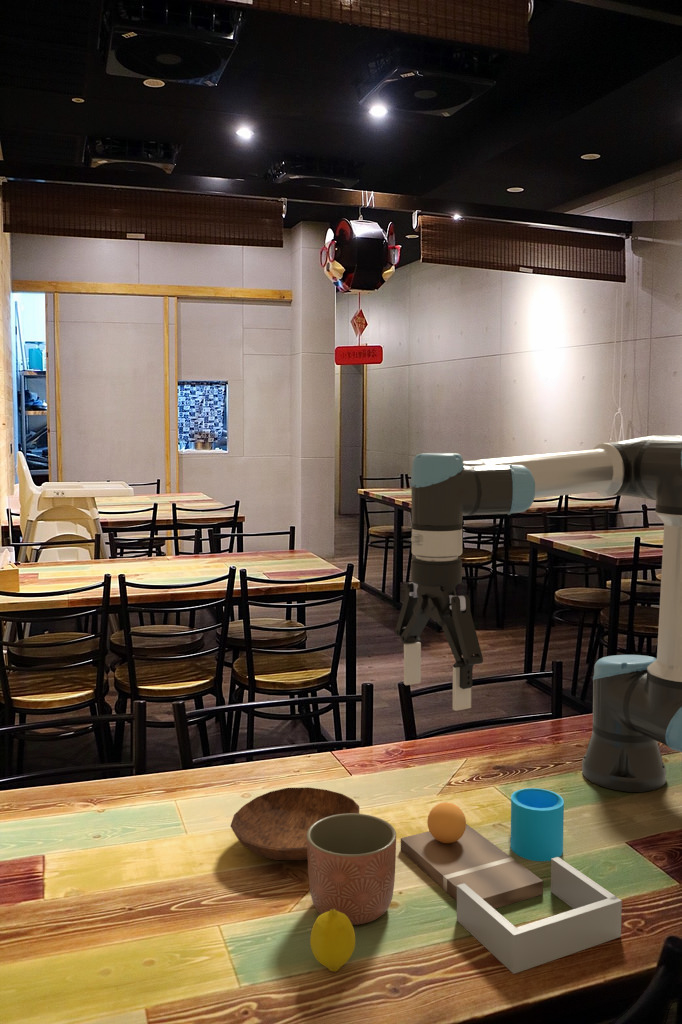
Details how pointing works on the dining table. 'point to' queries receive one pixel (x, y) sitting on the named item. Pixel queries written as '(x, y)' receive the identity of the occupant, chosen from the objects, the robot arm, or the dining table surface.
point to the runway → (473, 867)
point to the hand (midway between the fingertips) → (435, 695)
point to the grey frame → (545, 921)
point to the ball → (446, 822)
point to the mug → (537, 824)
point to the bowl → (286, 820)
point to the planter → (352, 865)
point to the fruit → (332, 939)
